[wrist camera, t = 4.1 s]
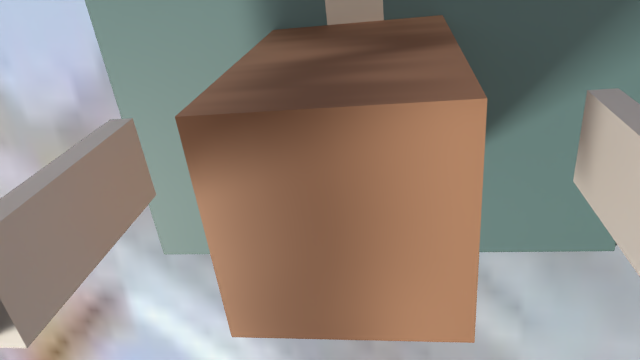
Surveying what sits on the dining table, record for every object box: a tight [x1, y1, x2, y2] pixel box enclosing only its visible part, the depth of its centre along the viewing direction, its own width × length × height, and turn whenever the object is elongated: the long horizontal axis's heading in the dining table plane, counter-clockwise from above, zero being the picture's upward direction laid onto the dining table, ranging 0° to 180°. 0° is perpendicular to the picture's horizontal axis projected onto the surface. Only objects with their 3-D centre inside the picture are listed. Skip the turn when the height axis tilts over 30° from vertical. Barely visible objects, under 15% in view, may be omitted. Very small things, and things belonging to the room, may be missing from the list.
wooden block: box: [175, 15, 487, 343], centre depth 14 cm, size 6×6×9 cm
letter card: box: [85, 0, 640, 254], centre depth 18 cm, size 20×14×1 cm
